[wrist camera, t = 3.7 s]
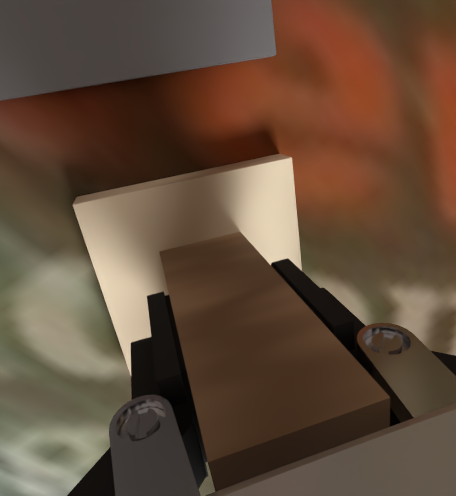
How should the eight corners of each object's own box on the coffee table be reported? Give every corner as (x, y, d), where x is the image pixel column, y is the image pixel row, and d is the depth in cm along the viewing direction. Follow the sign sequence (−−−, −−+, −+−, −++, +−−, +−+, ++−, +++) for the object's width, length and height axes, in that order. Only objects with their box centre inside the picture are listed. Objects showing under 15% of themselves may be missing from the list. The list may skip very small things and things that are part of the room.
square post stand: (279, 153, 15) (529, 233, 6) (296, 317, 18) (473, 539, 9) (76, 196, 14) (-28, 394, 4) (133, 366, 17) (143, 687, 7)
